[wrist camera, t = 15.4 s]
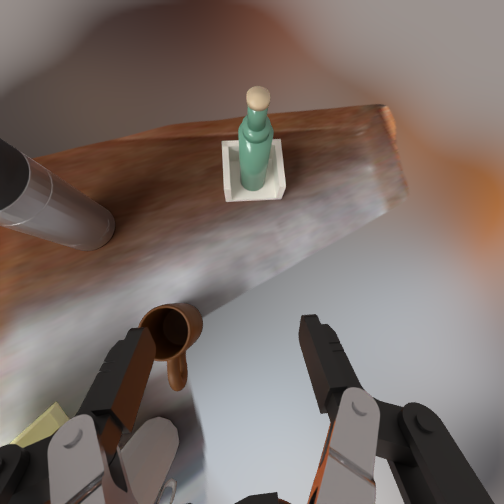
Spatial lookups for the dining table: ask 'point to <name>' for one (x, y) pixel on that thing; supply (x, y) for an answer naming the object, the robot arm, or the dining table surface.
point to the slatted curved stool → (42, 426)
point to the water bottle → (151, 459)
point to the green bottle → (255, 140)
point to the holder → (231, 174)
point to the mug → (174, 337)
